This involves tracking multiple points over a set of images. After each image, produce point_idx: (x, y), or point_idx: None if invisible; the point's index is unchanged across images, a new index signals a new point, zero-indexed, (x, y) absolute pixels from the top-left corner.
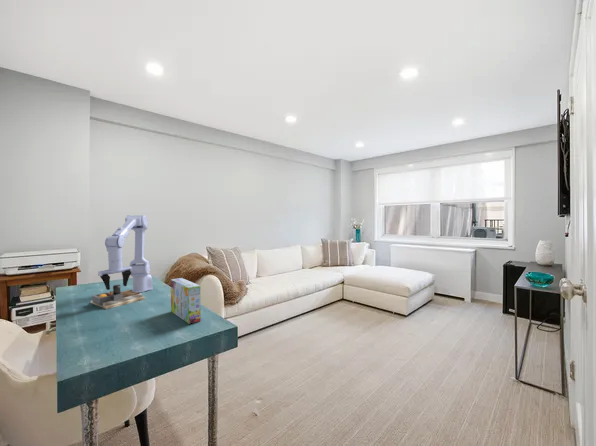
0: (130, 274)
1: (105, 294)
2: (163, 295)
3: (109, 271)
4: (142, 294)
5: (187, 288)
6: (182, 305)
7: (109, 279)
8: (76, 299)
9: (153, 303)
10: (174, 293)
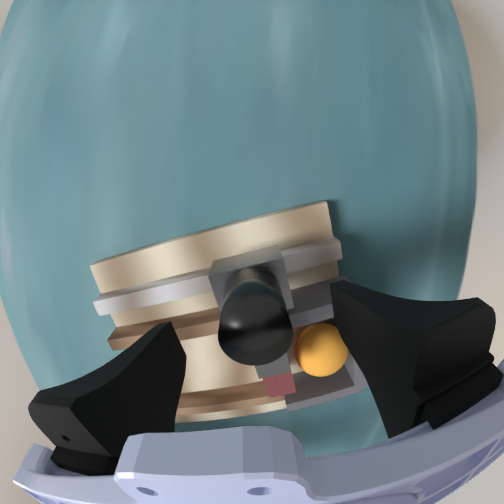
0: (57, 387)
1: (311, 365)
2: (25, 265)
3: (466, 441)
4: (95, 300)
5: None
6: None
7: (391, 321)
8: (360, 441)
9: (73, 131)
10: None
